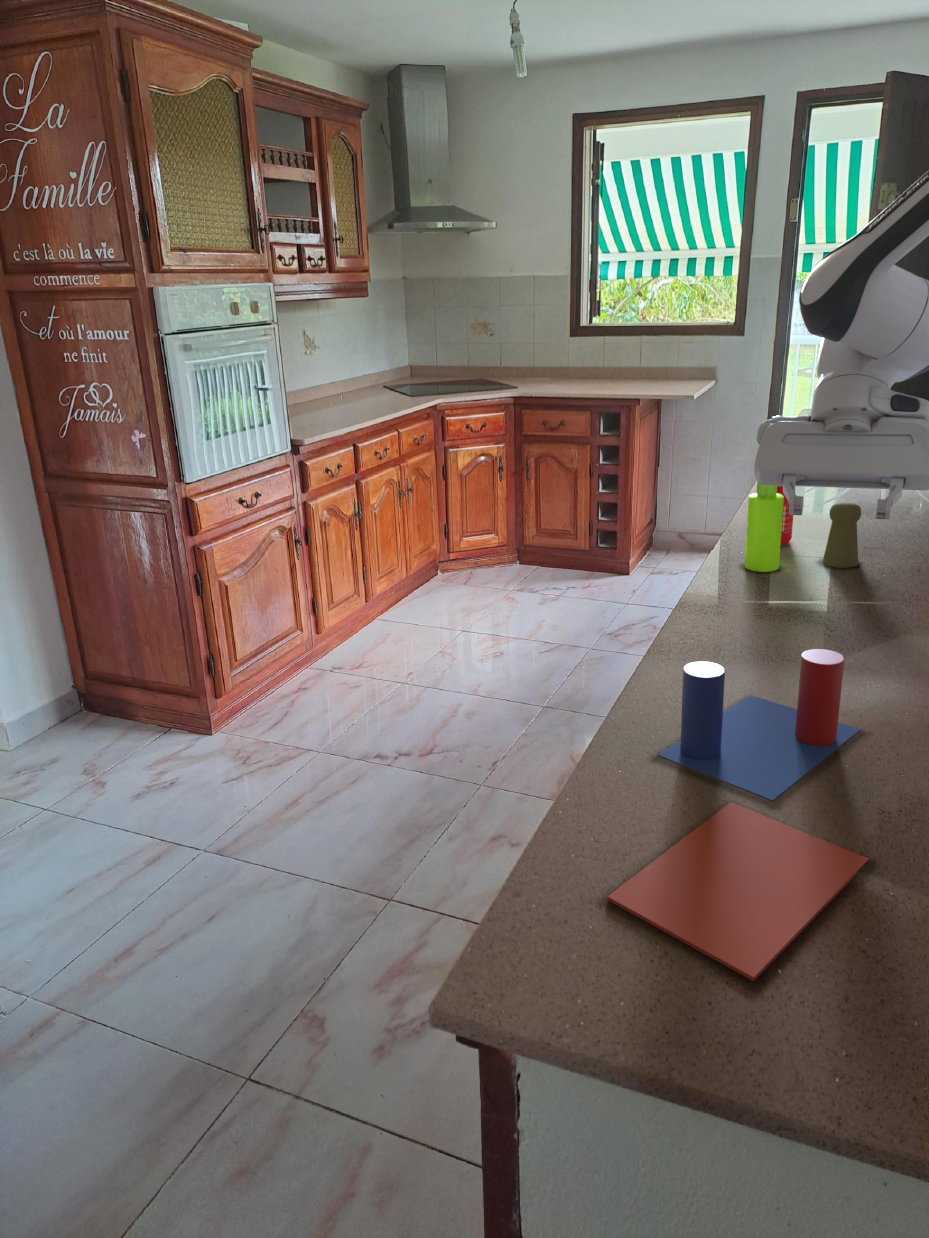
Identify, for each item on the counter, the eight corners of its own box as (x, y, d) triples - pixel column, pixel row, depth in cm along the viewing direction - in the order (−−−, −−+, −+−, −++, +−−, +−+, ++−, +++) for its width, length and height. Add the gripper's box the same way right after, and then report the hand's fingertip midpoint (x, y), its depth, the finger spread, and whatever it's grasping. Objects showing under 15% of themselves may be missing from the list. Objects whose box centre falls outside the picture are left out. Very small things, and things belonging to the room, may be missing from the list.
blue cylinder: (728, 749, 99) (732, 668, 95) (706, 764, 96) (710, 681, 93) (694, 736, 102) (697, 657, 98) (672, 751, 99) (675, 670, 96)
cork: (825, 556, 163) (830, 498, 159) (860, 559, 160) (867, 500, 156) (819, 565, 158) (825, 505, 154) (855, 569, 155) (862, 508, 151)
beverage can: (788, 547, 169) (793, 486, 165) (760, 545, 172) (764, 484, 168) (793, 540, 174) (798, 480, 169) (766, 538, 176) (770, 479, 172)
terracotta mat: (868, 862, 79) (869, 858, 79) (753, 981, 67) (753, 977, 67) (730, 805, 89) (730, 801, 89) (607, 900, 77) (607, 896, 77)
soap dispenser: (775, 560, 163) (783, 452, 156) (781, 571, 156) (789, 459, 149) (742, 560, 164) (748, 453, 157) (746, 571, 157) (753, 460, 150)
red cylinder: (843, 735, 100) (851, 655, 97) (824, 750, 97) (833, 668, 94) (806, 724, 103) (813, 645, 100) (787, 737, 100) (794, 657, 97)
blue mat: (860, 732, 101) (860, 729, 101) (772, 803, 89) (773, 800, 89) (750, 697, 111) (750, 694, 111) (657, 757, 99) (657, 754, 99)
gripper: (759, 401, 109) (744, 496, 104) (945, 400, 101) (938, 504, 96) (761, 431, 114) (747, 523, 109) (938, 433, 106) (931, 533, 101)
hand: (838, 514), depth 103 cm, fingers open, 8 cm apart
